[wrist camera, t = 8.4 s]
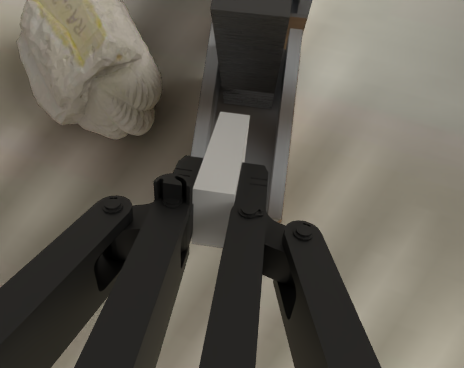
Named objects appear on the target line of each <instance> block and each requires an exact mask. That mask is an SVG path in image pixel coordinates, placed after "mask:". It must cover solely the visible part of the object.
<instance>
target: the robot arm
mask: <svg viewBox="0 0 464 368" xmlns="http://www.w3.org/2000/svg"><path fill="white" fill-rule="evenodd" d="M249 120H250V115H243V114H235V113H227V112H220V114H219V117H218V120H217V122H216V125H215V128H214V131H213V134H212V136H211V139H210V142H209V145H208V147H207V150H206V153H205V156H204V158H200V157H193V156H185V157H183V158H182V159H181V160H179V161H178V163H177V165H176V168H175V170H174V172H173V174H165V175H162V176H160V177H158V178H156V180H155V181H154V196H155V200H154V202H153V203H150V204H145V205H135V206H132V203H131V202H130V200H129V199H127V198H125V197H122V196H109V197H106V198H103V199H101V200H100V201H98V202H97V203H96V204H95V205H93V206H92V207H91V208H90V209H89V210H88V211H87V212H86V213H84V214H83V215H82V216H81V217H80V218H79V219H78V220H76V221H75V222H74V223H73V224H72V225H71V226H70V227H69V228H67V229H66V230H65V231H64V232H63V233H62V234H61V235H60V236H58V237H57V238H56V239H55V240H54V241H53V242H52V243H50V244H49V245H48V246H47V247H46V248H45V249H44V250H43V251H41V252H40V253H39V254H38V255H37V256H36V257H35V258H34V259H32V260H31V261H30V262H29V263H28V264H27V265H26V266H25V267H23V268H22V269H21V270H20V271H19V272H18V273H17V274H15V275H14V276H13V277H12V278H11V279H10V280H9V281H8V282H6V283H5V284H4V285H3V286H2V287H1V288H0V368H51V367H52V366H53V364H54V363H55V362H56V361H57V359H58V358H59V357H60V356H61V354H62V353H63V352H64V351H65V349H66V348H67V347H68V346H69V344H70V343H71V342H72V341H73V339H74V338H75V337H76V336H77V334H78V333H79V332H80V331H81V329H82V328H83V327H84V326H85V324H86V323H87V322H88V321H89V319H90V318H91V317H92V316H93V314H94V313H95V312H96V311H97V309H98V308H99V307H100V306H101V305H102V303H103V302H104V301H105V300H106V298H107V297H108V298H107V300H106V302H105V304H104V306H103V309H102V311H101V313H100V315H99V317H98V319H97V321H96V323H95V325H94V327H93V329H92V332H91V334H90V336H89V338H88V340H87V342H86V344H85V346H84V348H83V350H82V352H81V354H80V357H79V359H78V361H77V363H76V365H75V367H74V368H156V364H157V361H158V357H159V354H160V351H161V347H162V344H163V340H164V337H165V334H166V330H167V327H168V323H169V320H170V317H171V313H172V310H173V306H174V303H175V300H176V296H177V293H178V289H179V286H180V283H181V279H182V276H183V272H184V269H185V266H186V262H187V259H188V255H189V243H190V240H191V237H192V244H198V245H205V246H212V247H218V248H223V251H222V256H221V261H220V266H219V271H218V276H217V281H216V286H215V291H214V296H213V301H212V306H211V311H210V316H209V321H208V326H207V331H206V336H205V341H204V345H203V350H202V355H201V360H200V365H199V368H255V365H256V351H257V338H258V324H259V310H260V297H261V283H262V275H265V276H267V277H269V278H271V279H273V283H274V287H275V291H276V295H277V299H278V303H279V307H280V311H281V315H282V319H283V323H284V327H285V331H286V335H287V339H288V343H289V347H290V351H291V355H292V359H293V363H294V367H295V368H381V366H380V364H379V362H378V359H377V357H376V355H375V353H374V350H373V348H372V346H371V344H370V341H369V339H368V337H367V335H366V332H365V330H364V328H363V326H362V323H361V321H360V319H359V317H358V314H357V312H356V310H355V308H354V305H353V303H352V301H351V299H350V296H349V294H348V292H347V290H346V287H345V285H344V283H343V281H342V278H341V276H340V274H339V272H338V269H337V267H336V265H335V263H334V260H333V258H332V256H331V254H330V251H329V249H328V247H327V245H326V242H325V240H324V238H323V236H322V233H321V232H320V230H319V229H318V228H317V227H316V226H314V225H313V224H311V223H308V222H306V221H292V222H290V223H289V224H287V225H286V226H285V225H283V224H280V223H278V222H276V221H274V220H273V219H272V218H270V216H269V215H268V214H267V212H266V199H267V186H268V171H267V169H266V167H265V166H264V165H258V164H251V163H244V162H245V154H246V145H247V137H248V129H249Z"/></svg>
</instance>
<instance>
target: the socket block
mask: <svg viewBox="0 0 464 368" xmlns="http://www.w3.org/2000/svg"><path fill="white" fill-rule="evenodd" d="M311 3H312V0H292V4H291V12H290V19H289V24H288V29H287V34H286V39H285V44H284V49H286V45H287V41H288V36H289V32H290V28H292V29H302V30H303V31H304V28H305V24H306V21H307V17H308V14H309V10H310V7H311ZM302 35H303V33H302Z"/></svg>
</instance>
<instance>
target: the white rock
mask: <svg viewBox="0 0 464 368" xmlns="http://www.w3.org/2000/svg"><path fill="white" fill-rule="evenodd" d="M20 27H21V29H22V31H21V34H20V37H19V38H18V40H17V41H16V43H17V46H18V48H19V55H20V60H21V61H22V63H23V65H24V68H25V71H26V73H27V75H28V77H29V81H30V86H31V89H32V91H33V96H34V97H35V98H36V101H37V104H38V105H39V106H40V107H42V108H43V109H44V110H45V112H46V113H47V114H48V115H49V116H51V117H52V119H53V120H54V121H56V122H57V123H59V124H60V125H66V124H79V125H80V126H81V127H82V128H83V129H85V130H88V131H92V132H95V133H98V134H100V135H103V136H105V137H107V138H111V139H115V140H117V139H121V138H123V137H125V136H127V134H128V133H129V134H131V135H136V136H139V135H143V134H144V133H146V132H147V131H148V130H149V129H150V128H151V127H152V124H153V122H154V117H155V116H154V114H155V110H154V106H155V104H156V103H157V102H158V101H159V99H160V97H161V92H162V83H161V73H160V72H159V70H158V66H157V65H155V63H154V58H153V57H152V56H151V54H150V52H149V51H148V50H149V48H148V47H147V45H146V44H145V42H144V41H143V40H142V37H141V35H140V33H139V32H138V30H137V29H136V26H135V24H134V22H133V20H132V19H131V17H130V14H129V11H128V9H127V7H126V5H125V4H124V3H123V2H121V1H118V0H27V1H26V3H25V6H24V9H23V13H22V15H21V22H20Z"/></svg>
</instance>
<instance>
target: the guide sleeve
mask: <svg viewBox="0 0 464 368" xmlns="http://www.w3.org/2000/svg"><path fill="white" fill-rule="evenodd" d="M302 33H303V30H302V29H292V28H290V32H289V36H288V41H287V45H286V49H283V53H282V58H281V63H280V68H279V73H278V78H277V83H276V88H275V93H274V98H273V103H272V108H271V109H268V108H260V107H251V106H242V105H234V104H225V103H224V98H223V92H222V85H221V78H220V71H219V64H218V57H217V50H216V43H215V37H214V30H213V23H211V30H210V36H209V43H208V49H207V55H206V62H205V68H204V75H203V81H202V87H201V94H200V100H199V107H198V113H197V120H196V126H195V132H194V139H193V145H192V152H191V156H193V157H200V158H204V156H205V153H206V150H207V147H208V145H209V142H210V139H211V136H212V134H213V131H214V128H215V125H216V122H217V120H218V117H219V114H220V112H227V113H235V114H243V115H250V120H249V129H248V137H247V145H246V154H245V162H244V163H251V164H258V165H264V166H265V167H266V169H267V171H268V186H267V199H266V212H267V214H268V215H269V216H270V218H272V219H273V220H274V221H276V222H278V223H281V221H282V212H283V204H284V195H285V186H286V177H287V168H288V159H289V150H290V142H291V133H292V124H293V115H294V106H295V97H296V88H297V80H298V71H299V62H300V51H301V42H302Z"/></svg>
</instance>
